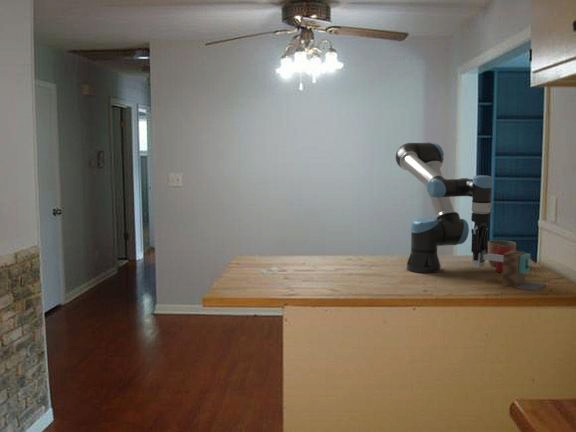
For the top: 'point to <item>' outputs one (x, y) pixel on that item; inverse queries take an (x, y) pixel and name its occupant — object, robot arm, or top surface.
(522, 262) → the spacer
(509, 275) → the bearing block
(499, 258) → the shaft
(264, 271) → the top surface
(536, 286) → the pad
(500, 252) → the beer can
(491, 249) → the planter
